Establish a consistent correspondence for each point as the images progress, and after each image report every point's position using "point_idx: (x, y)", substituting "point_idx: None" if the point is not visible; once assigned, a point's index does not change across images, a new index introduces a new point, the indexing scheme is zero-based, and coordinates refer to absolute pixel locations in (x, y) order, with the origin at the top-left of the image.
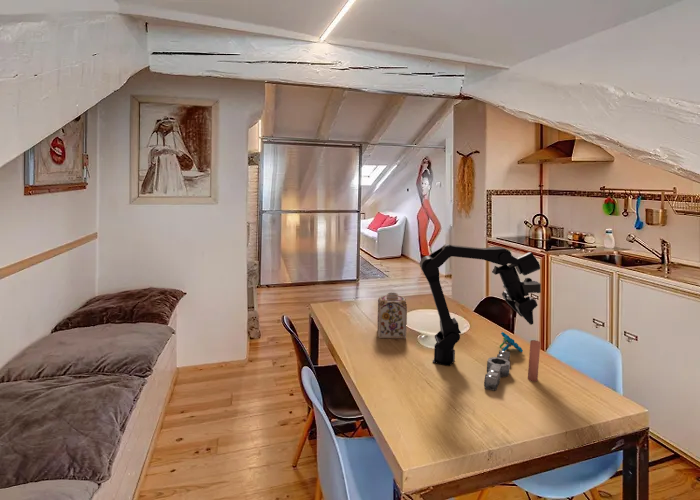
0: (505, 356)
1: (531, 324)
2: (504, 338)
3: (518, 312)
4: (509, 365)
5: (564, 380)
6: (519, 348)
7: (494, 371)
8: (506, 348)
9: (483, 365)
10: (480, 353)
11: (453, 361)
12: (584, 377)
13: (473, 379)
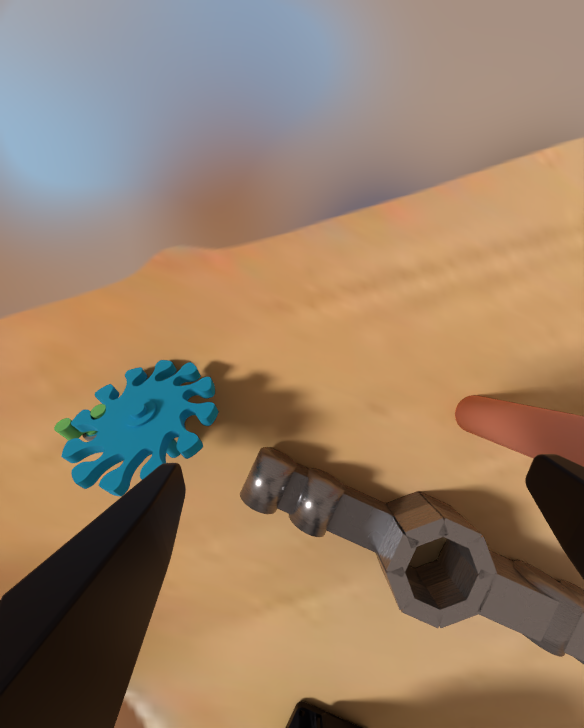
0: (331, 499)
1: (542, 473)
2: (74, 435)
3: (155, 576)
4: (448, 515)
5: (473, 285)
6: (213, 392)
7: (570, 628)
8: (172, 440)
9: (346, 580)
10: (208, 562)
11: (343, 723)
12: (439, 188)
13: (488, 653)
